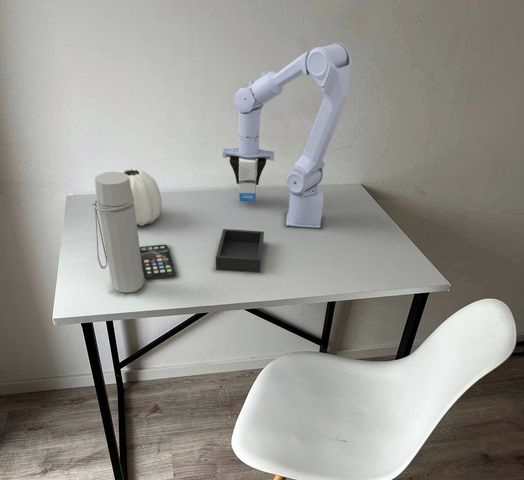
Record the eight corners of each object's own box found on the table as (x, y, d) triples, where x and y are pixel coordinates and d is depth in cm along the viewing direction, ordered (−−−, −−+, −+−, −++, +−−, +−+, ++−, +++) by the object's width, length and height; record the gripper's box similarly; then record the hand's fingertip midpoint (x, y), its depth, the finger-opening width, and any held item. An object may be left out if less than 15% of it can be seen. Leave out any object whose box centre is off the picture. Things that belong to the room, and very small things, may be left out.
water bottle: (145, 276, 120) (132, 170, 104) (143, 295, 115) (129, 185, 98) (105, 277, 119) (85, 170, 103) (101, 296, 113) (80, 186, 97)
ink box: (255, 202, 149) (256, 161, 142) (238, 201, 149) (238, 161, 142) (256, 190, 156) (257, 151, 149) (239, 189, 156) (240, 150, 148)
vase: (102, 217, 142) (94, 169, 134) (146, 205, 150) (141, 158, 141) (128, 236, 135) (121, 186, 126) (173, 222, 142) (169, 174, 134)
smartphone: (167, 244, 131) (176, 274, 120) (167, 246, 132) (176, 276, 121) (137, 247, 129) (144, 277, 118) (137, 249, 130) (144, 280, 119)
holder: (263, 243, 135) (264, 231, 133) (259, 272, 124) (260, 260, 122) (223, 241, 135) (223, 228, 133) (216, 269, 124) (215, 257, 122)
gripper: (275, 131, 144) (273, 179, 153) (224, 128, 145) (224, 176, 153) (274, 140, 139) (272, 188, 148) (221, 136, 139) (221, 185, 148)
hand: (247, 183), depth 150 cm, fingers closed on ink box, 5 cm apart
